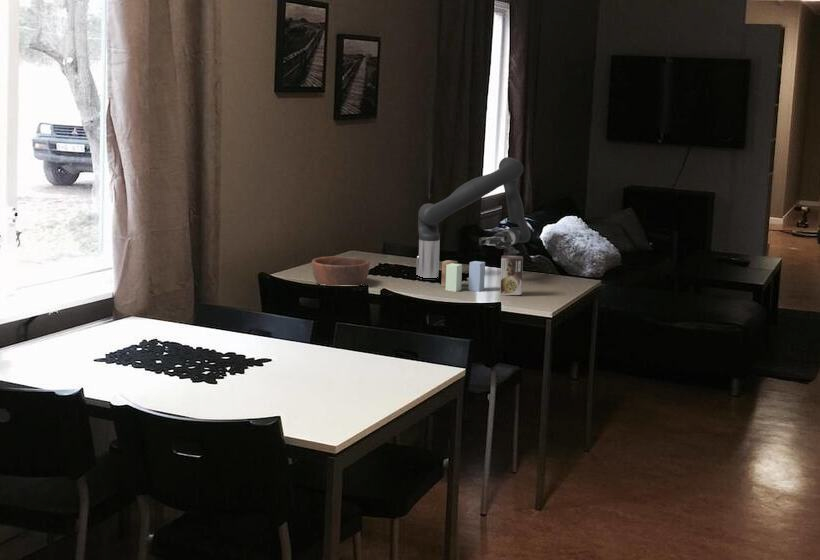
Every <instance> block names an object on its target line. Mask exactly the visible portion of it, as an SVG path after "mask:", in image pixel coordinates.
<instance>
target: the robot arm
mask: <svg viewBox="0 0 820 560" xmlns="http://www.w3.org/2000/svg"><path fill="white" fill-rule="evenodd" d="M523 172H524V165H523V163H522V162H521V161H520V160H518V159H516V158H514V157H510V156H508V157H507V156H506V157H504V158H502V159H501V160H500V162H499V165H498V169H496V170H494V171H493V172H491V173H488V174H485V175H482V176H478V177H474V178H472V179H470V180H468V181H467V182H465V183H463V184H461V185H460V186H458V187H457V188H455V190H454V191H453V192H451V194H450V195H449V196H447V197H446V198H445V199H444V198H443V199H442V200H440V201H438V202H437V203H425V204H422V206H420V208H419V209H418V215H417V217H418V219H417V220H418V221H417V230H418V231H417V232H418V255H417V256H416V270H415V271H416V272H415V273H416V275H418V276H420V277H423V278H437V277H438V278H439V275H440V274H439V269H440V268H439V267H440V244H441V243H440V239H441V237H440V236H441V235H440V232H439V223H441V222H442V221H444V220H445V219H446V218H447V217H450V215H452V214H454V213H455V212H457V211H459V210H461V209H463V208H465V207H467V206H469V205H471V204H474V203H475V202H476V201H478V200H479V199H482V198H483V197H485V196H486V195H489V194H490V193H491V192H494V190H497V189H498V188H499V187H501V186H503V189H504V193H505V199H506V205H507V213H508V220H509V222H510V223H511V224H514V225H516V226H512V227H509V228H507V230H501V231H497V232H496V233H494V235H493V236H490V237H487V236H484V237H478V245H479V246H484V245H487V246H494V247H495V248H496V249H499V250H502V249H506V248H509V247H511V246H514V245H515V244H518V243H527V242H529V241H530V239H531V235H532V234H531V231H530V228H529V226H528V223H527V221H526V218H525V211H524V210H525V209H524V205H523V201H522V198H521V194H520V192H519V189H518V188H519V187H518V183H517V180H518V179H519V178H520V177H522V175H523ZM416 275H415V276H416ZM438 278H437V279H438Z"/></svg>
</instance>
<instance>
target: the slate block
mask: <svg viewBox="0 0 820 560" xmlns="http://www.w3.org/2000/svg"><path fill="white" fill-rule="evenodd" d="M468 269H469V270H468V291H471V292H482V291H485V275H486V262H485V261H478V260H474V261H473V260H472V261H470V262H469V267H468Z"/></svg>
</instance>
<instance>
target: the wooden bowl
mask: <svg viewBox="0 0 820 560" xmlns="http://www.w3.org/2000/svg"><path fill="white" fill-rule="evenodd" d="M370 265H371V262H370V260H369V259H367V258H363V257H357V256H347V255H346V256H344V255H343V256H342V255H336V256H335V255H334V256H333V255H332V256H320V257H317V258H316V257H315V258H313V259H312V260H311V269H312V275H313V278H314V280H315V282H316V283H317V285H319V284H326V285H361V284H363V285H364V284H365V283H366V281H367V279H368V276H369V271H370ZM361 286H362V285H361Z"/></svg>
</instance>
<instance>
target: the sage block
mask: <svg viewBox="0 0 820 560" xmlns="http://www.w3.org/2000/svg"><path fill="white" fill-rule="evenodd" d="M462 272H463V264H461V263H458V264H454V263H451V264H447V265H446V287H444V288H445V291H447V292H448V291H449V292H454V293H456V292H459V291H461V290H462V281H463V280H462V277H463V275H462V274H463V273H462Z"/></svg>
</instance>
